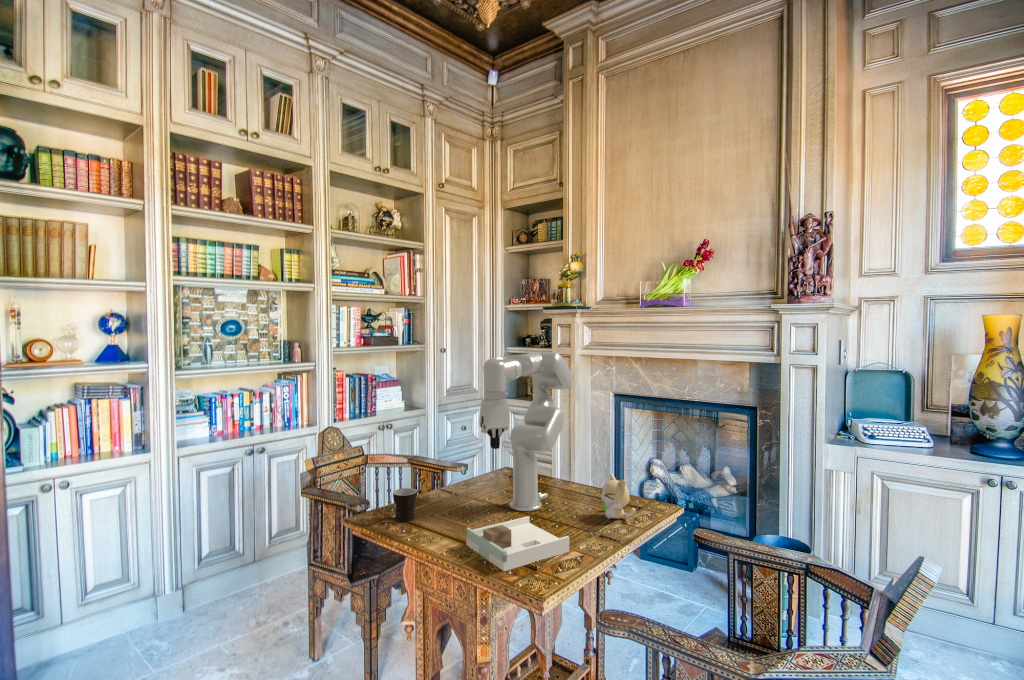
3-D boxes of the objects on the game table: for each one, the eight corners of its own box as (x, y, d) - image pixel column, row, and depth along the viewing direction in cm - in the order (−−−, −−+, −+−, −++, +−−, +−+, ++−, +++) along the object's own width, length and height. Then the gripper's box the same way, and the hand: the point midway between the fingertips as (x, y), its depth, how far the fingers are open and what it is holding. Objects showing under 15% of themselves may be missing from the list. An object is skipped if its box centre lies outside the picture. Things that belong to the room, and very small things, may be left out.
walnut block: (502, 540, 164) (502, 525, 164) (511, 546, 160) (511, 529, 160) (483, 546, 160) (483, 529, 160) (491, 551, 156) (491, 535, 156)
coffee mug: (396, 514, 195) (396, 488, 195) (419, 515, 195) (419, 488, 195) (387, 526, 183) (387, 498, 183) (412, 526, 183) (412, 498, 183)
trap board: (528, 529, 180) (527, 513, 180) (569, 551, 162) (569, 533, 162) (466, 545, 167) (466, 528, 167) (503, 571, 149) (503, 552, 148)
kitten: (593, 511, 198) (593, 472, 197) (617, 509, 200) (617, 469, 200) (611, 525, 183) (611, 483, 183) (636, 522, 186) (636, 480, 186)
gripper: (506, 393, 191) (507, 443, 191) (470, 396, 183) (471, 449, 183) (518, 395, 185) (518, 447, 185) (481, 398, 177) (482, 453, 177)
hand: (495, 448), depth 184 cm, fingers closed
